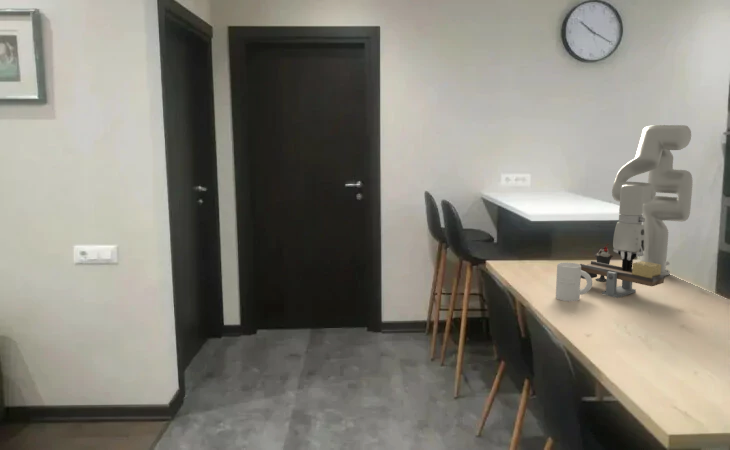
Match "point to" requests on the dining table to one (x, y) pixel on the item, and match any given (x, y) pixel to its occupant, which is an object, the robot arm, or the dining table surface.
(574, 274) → the mug
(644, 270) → the block
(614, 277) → the pivot stand
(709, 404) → the dining table surface
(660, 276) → the beam
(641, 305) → the dining table surface
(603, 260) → the sundae
